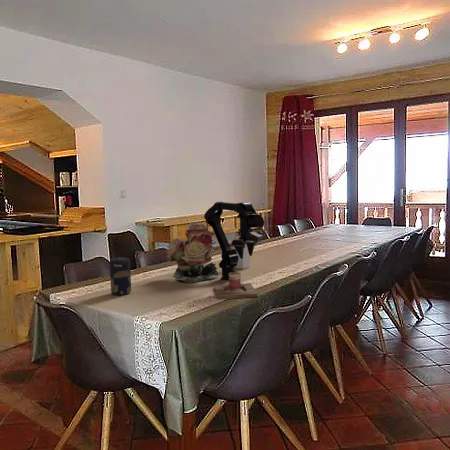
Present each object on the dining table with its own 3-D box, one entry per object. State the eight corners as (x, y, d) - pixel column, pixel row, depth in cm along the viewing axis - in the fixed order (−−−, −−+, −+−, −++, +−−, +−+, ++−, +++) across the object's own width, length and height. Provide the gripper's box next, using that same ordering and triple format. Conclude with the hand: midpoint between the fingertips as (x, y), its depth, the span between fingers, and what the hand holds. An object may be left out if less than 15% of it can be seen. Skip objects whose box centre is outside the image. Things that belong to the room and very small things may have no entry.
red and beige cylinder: (226, 292, 209) (226, 273, 208) (236, 290, 212) (236, 271, 211) (233, 294, 204) (232, 275, 203) (243, 292, 207) (242, 273, 206)
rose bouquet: (164, 275, 248) (159, 222, 244) (213, 268, 258) (210, 217, 254) (175, 286, 224) (170, 228, 220) (229, 277, 234) (225, 221, 230)
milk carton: (240, 265, 270) (239, 235, 268) (250, 267, 265) (249, 235, 263) (233, 268, 264) (232, 236, 262) (243, 269, 260) (242, 237, 258)
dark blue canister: (133, 290, 217) (131, 254, 215) (129, 295, 207) (127, 257, 206) (113, 291, 217) (111, 255, 215) (109, 296, 207) (106, 258, 205)
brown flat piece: (214, 288, 217) (214, 285, 217) (250, 286, 219) (250, 283, 219) (217, 299, 197) (217, 295, 197) (257, 296, 199) (257, 293, 199)
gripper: (250, 229, 212) (251, 261, 214) (268, 225, 228) (268, 255, 230) (230, 228, 218) (231, 259, 220) (249, 224, 234) (249, 253, 236)
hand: (246, 257), depth 226 cm, fingers open, 9 cm apart
